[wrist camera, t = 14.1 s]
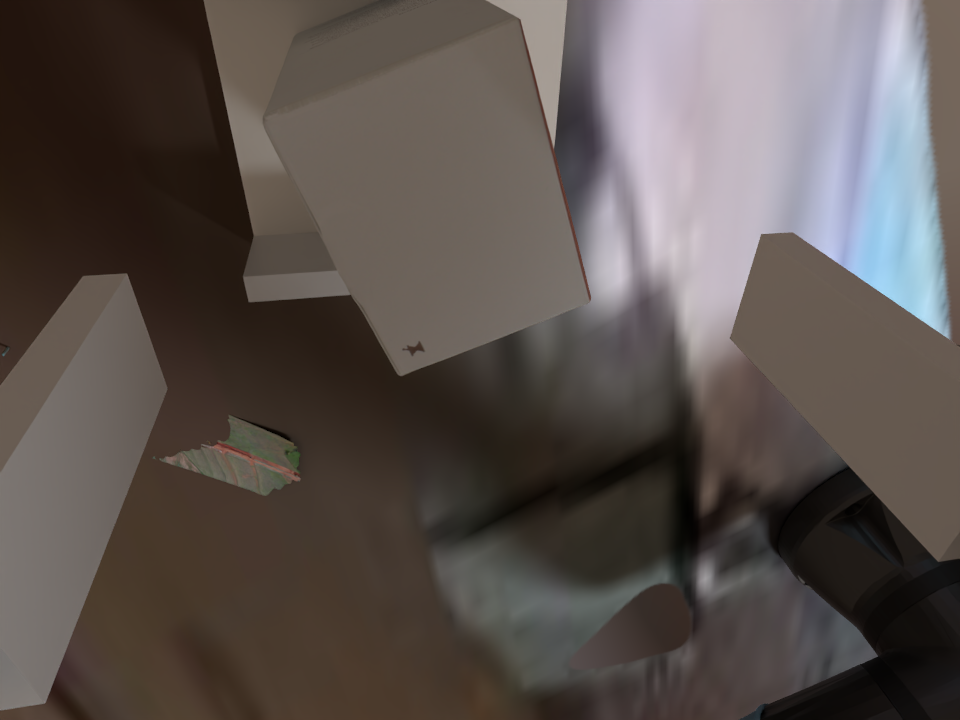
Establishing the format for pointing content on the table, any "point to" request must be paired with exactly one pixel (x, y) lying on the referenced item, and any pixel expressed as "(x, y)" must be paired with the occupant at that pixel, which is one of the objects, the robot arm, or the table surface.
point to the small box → (429, 173)
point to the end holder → (268, 189)
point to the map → (244, 458)
